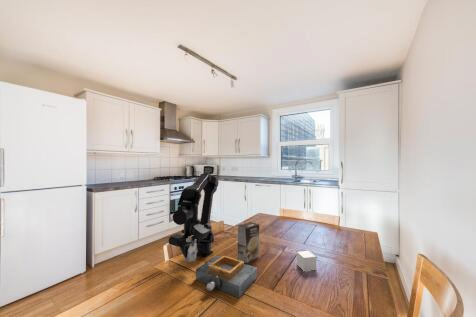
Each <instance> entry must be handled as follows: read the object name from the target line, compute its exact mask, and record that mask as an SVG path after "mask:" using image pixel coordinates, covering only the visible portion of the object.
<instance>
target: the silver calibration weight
mask: <svg viewBox="0 0 476 317" xmlns="http://www.w3.org/2000/svg"><path fill="white" fill-rule="evenodd" d="M188 242H190V244H189V245H188V252H187V258H185V257H184V256H183V259H184V261H185V262H189V263H190V262H191V263H192V262H195V261H197V260H196V259H197V254H196V253H197V251H196V246H197V239H191V238H188Z"/></svg>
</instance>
